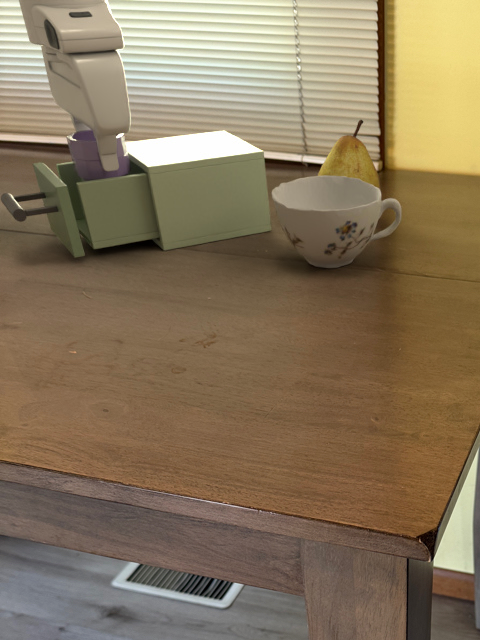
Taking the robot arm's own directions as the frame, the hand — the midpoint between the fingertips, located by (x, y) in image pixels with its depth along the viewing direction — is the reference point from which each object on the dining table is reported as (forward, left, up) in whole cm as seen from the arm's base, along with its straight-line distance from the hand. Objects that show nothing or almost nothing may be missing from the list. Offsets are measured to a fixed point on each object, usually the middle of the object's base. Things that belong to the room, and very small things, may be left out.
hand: (101, 162), depth 90 cm
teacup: (+21, -20, -9) cm, 31 cm away
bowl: (0, 0, -2) cm, 2 cm away
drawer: (-2, 0, -8) cm, 9 cm away
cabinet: (+11, 0, -9) cm, 14 cm away
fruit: (+29, -8, -9) cm, 32 cm away
